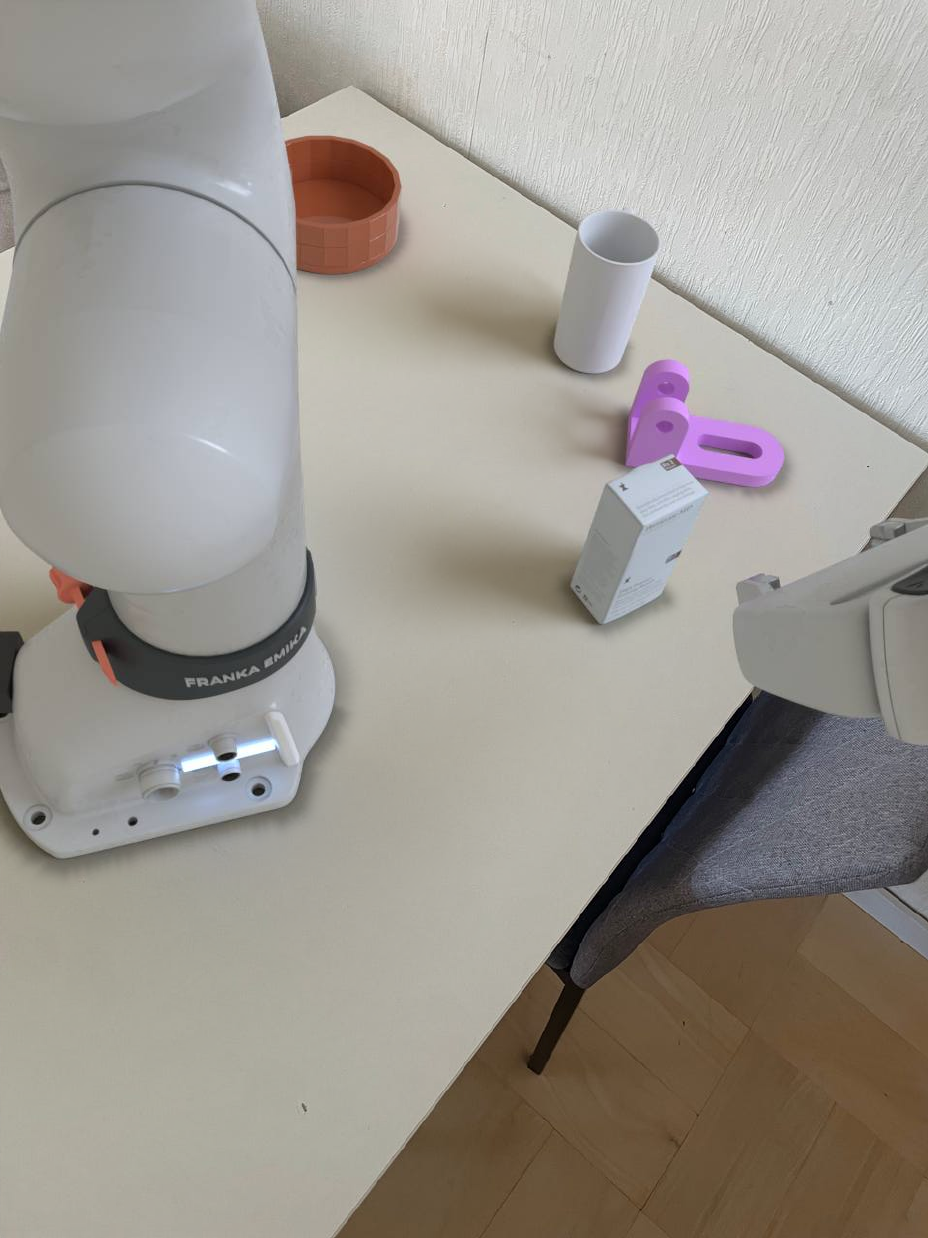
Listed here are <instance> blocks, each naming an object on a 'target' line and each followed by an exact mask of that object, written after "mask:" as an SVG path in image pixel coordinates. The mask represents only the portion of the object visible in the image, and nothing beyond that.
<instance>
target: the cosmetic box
mask: <svg viewBox="0 0 928 1238" xmlns="http://www.w3.org/2000/svg"><path fill="white" fill-rule="evenodd" d="M708 496H709V492H708V490H707V489H706V488H705V487H704V486H703V485H702V484H701V483H700V481H699V480H697V478H695V477H694V476H693V475H692V474H691V473H690V472H689V471H688V470H687V469H686V468H685V467H684V466H683V465H682V464H681V463H680V462H679V461H678V460H677V459H676V458H675V456H674V455H673V454H670V455H667V456H665V457H663V458H661V459H659V460H656V461H654V462H652V463H648V464H644V465H641V466H639V467H634V468H633V469H631V470H630V471H629V472H628V473H626V474H623V475H621V476H620V477H617V478H615V479H613V480H610V481H608V482H605V484H604V486H603V490H602V493H601V495H600V499H599V500H598V504H597V507H596V510H595V512H594V516H593V519H592V522H591V524H590V528H589V530H588V533H587V535H586V539H585V542H584V545H583V547H582V550H581V553H580V556H579V558H578V561H577V564H576V567H575V570H574V573H573V575H572V578H571V581H570V588H571V590H572V591H573V592H574V593H575V595H576V596H577V598H578V599H579V600H580V602H581V603H582V604H583V605H584V607H585V608H586V609H587V611H588V612H589V613H590V614H591V615H592V617H593V618H594V619H595V620H596V622H597V623H598V624H599V625H606V624H608V623H611V622H613V621H615V620H618V619H619V618H621V617H624V616H625V615H628V614H630V613H631V612H634V611H635V610H638V609H639V608H641V607H643V606H644V605H646V604H648V603H651V602H652V601H653V600H656V599H657V598H658V597H659V596H661V595H662V593H663V591H664V589H665V587H666V584H667V582H668V581H669V578H670V576H671V574H672V572H673V570H674V567H675V565H676V563H677V561H678V560H679V557H680V555H681V553H682V551H683V549H684V546H685V544H686V542H687V540H688V538H689V536H690V534H691V532H692V530H693V528H694V525H695V523H696V522H697V519H698V516H699V514H700V512H701V510H702V508H703V506H704V504H705V502H706V499H707V497H708Z"/></svg>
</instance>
